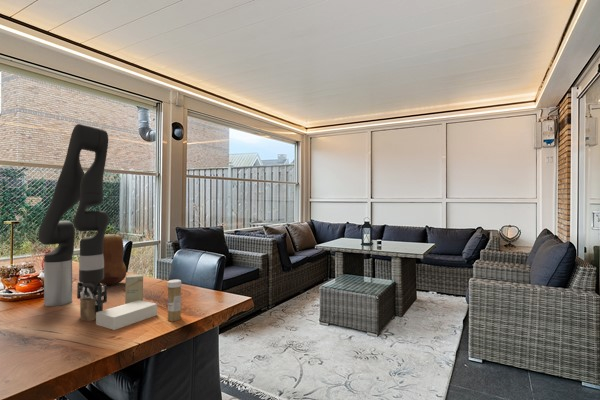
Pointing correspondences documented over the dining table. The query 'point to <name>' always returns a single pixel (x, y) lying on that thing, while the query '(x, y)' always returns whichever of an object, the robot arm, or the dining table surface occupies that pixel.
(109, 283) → the butternut squash
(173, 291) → the sprinkles bottle
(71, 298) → the robot arm
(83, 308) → the walnut block
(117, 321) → the white block
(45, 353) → the dining table surface
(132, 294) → the skincare box
